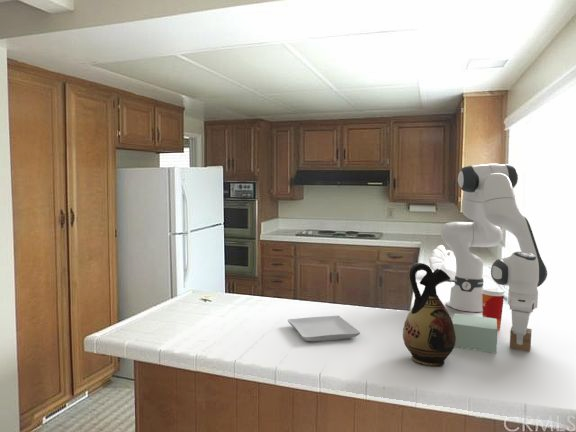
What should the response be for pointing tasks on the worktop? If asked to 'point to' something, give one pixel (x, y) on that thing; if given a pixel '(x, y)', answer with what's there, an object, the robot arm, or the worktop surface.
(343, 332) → the salad plate
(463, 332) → the sage box
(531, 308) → the robot arm
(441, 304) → the ceramic jug
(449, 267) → the decorative rooster
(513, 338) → the walnut block
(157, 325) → the worktop surface
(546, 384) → the worktop surface
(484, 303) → the coffee cup
